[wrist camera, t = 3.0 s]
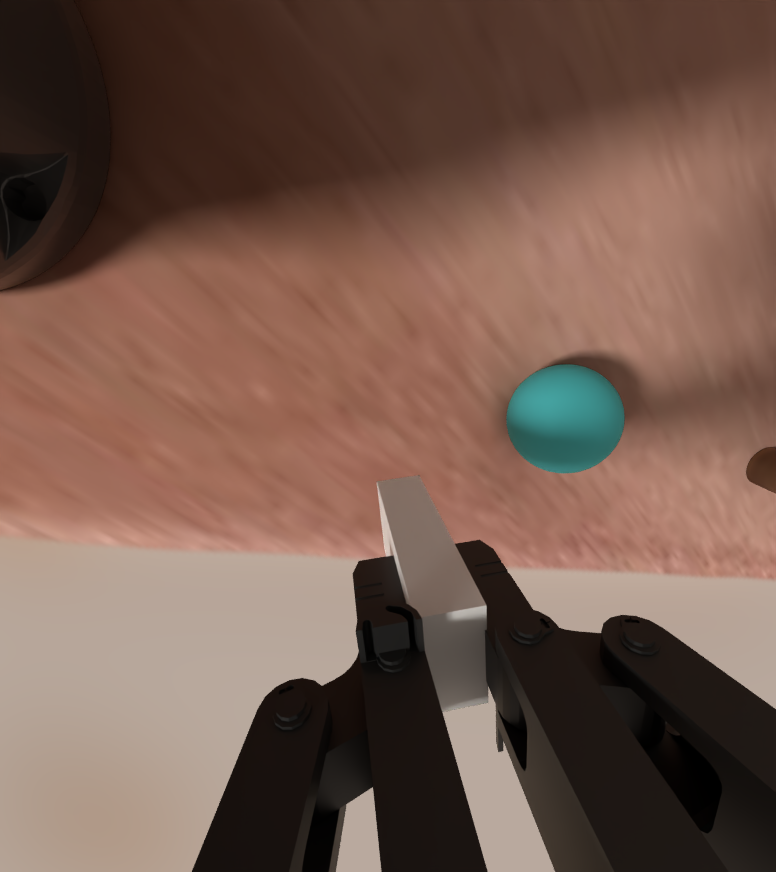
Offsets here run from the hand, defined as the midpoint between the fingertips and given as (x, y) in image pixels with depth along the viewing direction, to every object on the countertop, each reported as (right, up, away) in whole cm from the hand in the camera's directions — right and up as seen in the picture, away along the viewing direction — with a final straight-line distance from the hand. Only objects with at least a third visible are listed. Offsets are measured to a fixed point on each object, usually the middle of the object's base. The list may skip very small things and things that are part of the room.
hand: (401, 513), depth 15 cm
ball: (+8, +4, +6) cm, 11 cm away
